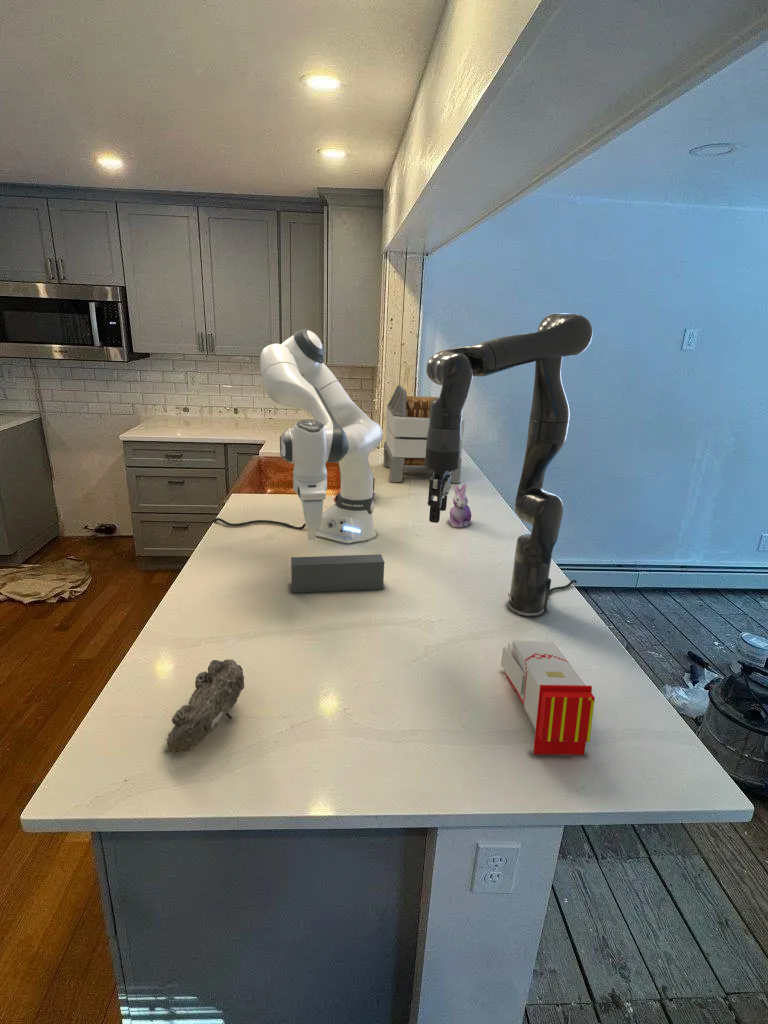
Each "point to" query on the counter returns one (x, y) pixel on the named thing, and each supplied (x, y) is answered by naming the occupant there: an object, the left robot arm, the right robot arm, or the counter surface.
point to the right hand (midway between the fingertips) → (437, 515)
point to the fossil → (206, 705)
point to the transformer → (409, 434)
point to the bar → (337, 573)
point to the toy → (550, 696)
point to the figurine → (460, 508)
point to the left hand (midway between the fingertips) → (310, 532)
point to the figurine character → (373, 486)
